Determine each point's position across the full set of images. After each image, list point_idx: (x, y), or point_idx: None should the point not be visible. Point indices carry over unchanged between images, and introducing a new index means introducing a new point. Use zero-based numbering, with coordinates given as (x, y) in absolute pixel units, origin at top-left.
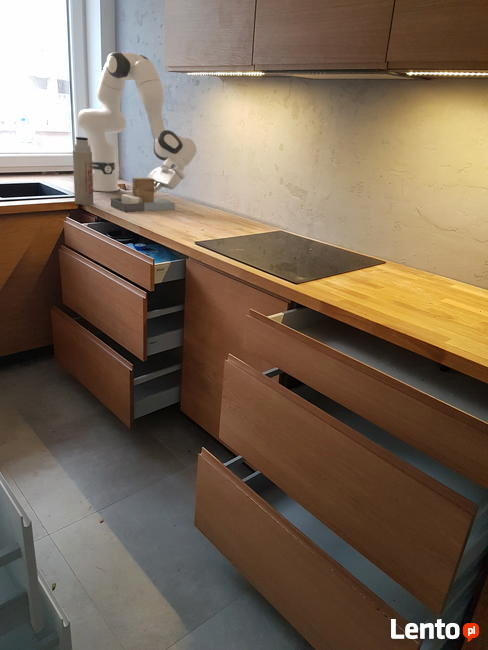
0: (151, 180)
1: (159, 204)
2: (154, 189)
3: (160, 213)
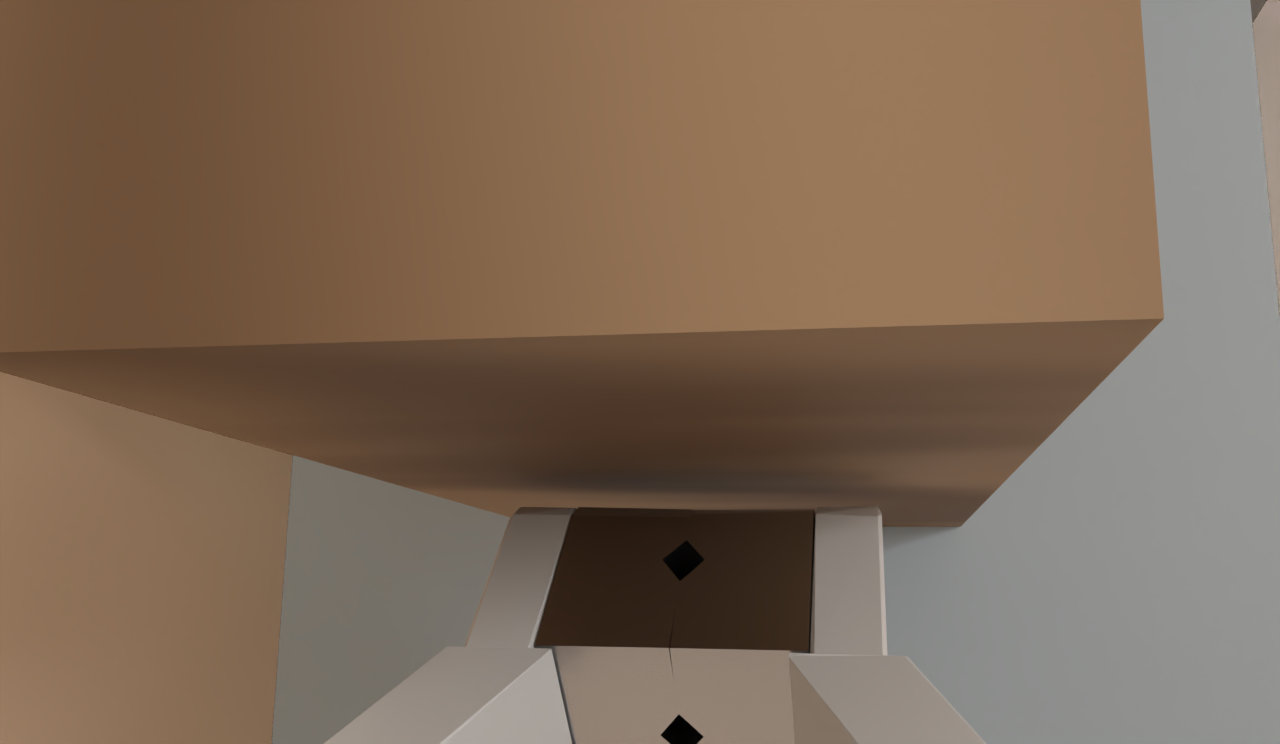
0: (34, 92)
1: (295, 602)
2: (501, 596)
3: (17, 394)
